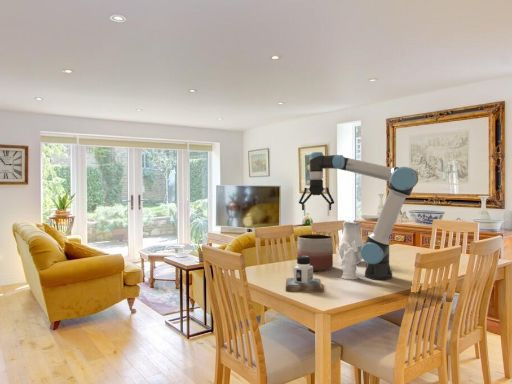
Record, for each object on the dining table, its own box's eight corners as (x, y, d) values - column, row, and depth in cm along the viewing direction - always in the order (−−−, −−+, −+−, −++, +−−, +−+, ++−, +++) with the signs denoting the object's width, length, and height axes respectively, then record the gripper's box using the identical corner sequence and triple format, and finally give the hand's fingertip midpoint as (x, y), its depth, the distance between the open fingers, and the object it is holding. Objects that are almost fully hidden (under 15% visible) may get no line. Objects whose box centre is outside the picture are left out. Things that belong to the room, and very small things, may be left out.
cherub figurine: (337, 276, 228) (337, 238, 227) (355, 274, 232) (355, 237, 232) (349, 281, 216) (349, 240, 216) (368, 279, 221) (368, 239, 220)
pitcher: (367, 264, 259) (367, 222, 258) (341, 264, 259) (341, 222, 258) (358, 257, 282) (358, 218, 282) (334, 257, 283) (334, 218, 282)
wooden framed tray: (320, 283, 211) (320, 278, 211) (322, 291, 196) (322, 285, 195) (286, 282, 213) (286, 277, 213) (285, 291, 197) (285, 285, 197)
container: (307, 284, 199) (307, 258, 199) (293, 282, 203) (293, 256, 203) (313, 280, 206) (313, 255, 206) (299, 278, 210) (299, 254, 209)
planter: (291, 269, 245) (291, 237, 244) (304, 263, 264) (304, 233, 264) (326, 273, 234) (326, 239, 234) (337, 266, 254) (337, 235, 253)
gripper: (337, 179, 230) (337, 215, 231) (294, 179, 233) (294, 215, 233) (339, 178, 223) (339, 216, 224) (294, 179, 225) (294, 216, 226)
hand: (316, 216), depth 229 cm, fingers open, 13 cm apart
